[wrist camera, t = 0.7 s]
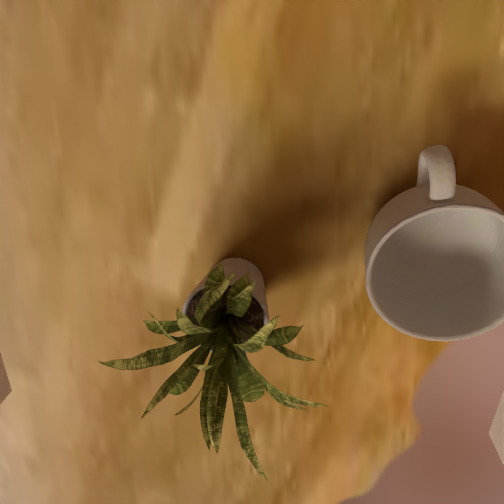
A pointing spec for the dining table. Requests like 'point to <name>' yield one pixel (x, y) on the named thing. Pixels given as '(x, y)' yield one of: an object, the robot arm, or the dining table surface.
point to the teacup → (437, 256)
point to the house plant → (221, 349)
